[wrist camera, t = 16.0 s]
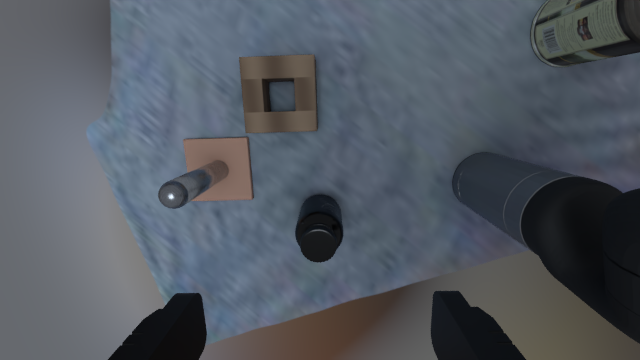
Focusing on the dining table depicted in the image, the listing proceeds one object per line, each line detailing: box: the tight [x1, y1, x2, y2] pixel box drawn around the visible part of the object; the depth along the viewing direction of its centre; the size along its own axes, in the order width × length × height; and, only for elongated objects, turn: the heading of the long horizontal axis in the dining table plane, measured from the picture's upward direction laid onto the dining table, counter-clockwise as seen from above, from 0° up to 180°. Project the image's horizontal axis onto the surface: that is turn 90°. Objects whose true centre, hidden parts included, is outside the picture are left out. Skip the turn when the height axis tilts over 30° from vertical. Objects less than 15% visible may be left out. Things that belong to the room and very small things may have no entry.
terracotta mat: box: [183, 137, 254, 201], centre depth 48 cm, size 10×10×1 cm
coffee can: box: [530, 0, 640, 67], centre depth 35 cm, size 10×10×14 cm
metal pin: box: [158, 160, 229, 209], centre depth 40 cm, size 3×3×16 cm
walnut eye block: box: [239, 55, 318, 133], centre depth 43 cm, size 10×10×5 cm
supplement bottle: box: [295, 195, 343, 262], centre depth 44 cm, size 7×7×12 cm
